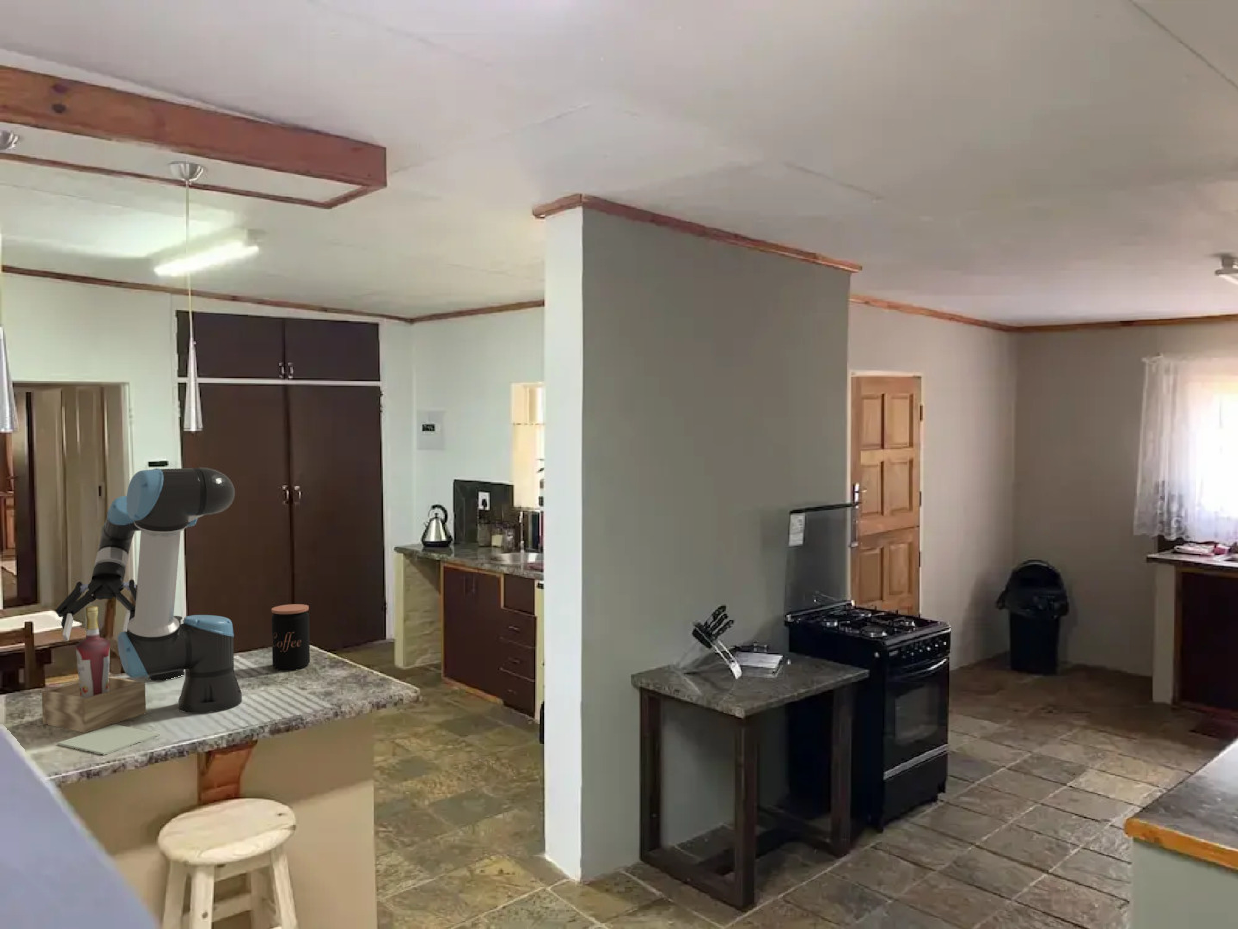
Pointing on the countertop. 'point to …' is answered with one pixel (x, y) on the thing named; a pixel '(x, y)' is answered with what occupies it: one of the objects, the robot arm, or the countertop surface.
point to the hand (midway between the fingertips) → (95, 636)
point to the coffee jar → (290, 637)
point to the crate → (93, 705)
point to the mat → (108, 739)
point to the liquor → (93, 658)
